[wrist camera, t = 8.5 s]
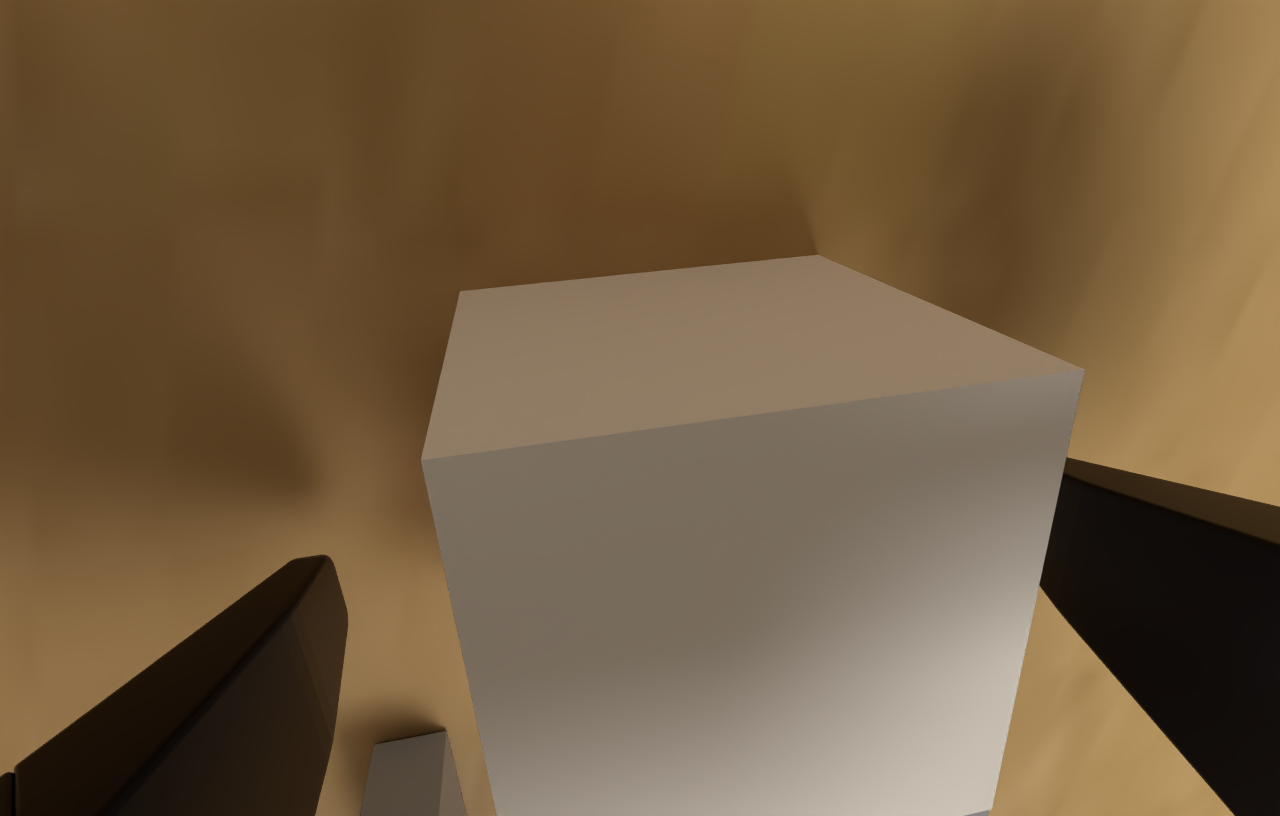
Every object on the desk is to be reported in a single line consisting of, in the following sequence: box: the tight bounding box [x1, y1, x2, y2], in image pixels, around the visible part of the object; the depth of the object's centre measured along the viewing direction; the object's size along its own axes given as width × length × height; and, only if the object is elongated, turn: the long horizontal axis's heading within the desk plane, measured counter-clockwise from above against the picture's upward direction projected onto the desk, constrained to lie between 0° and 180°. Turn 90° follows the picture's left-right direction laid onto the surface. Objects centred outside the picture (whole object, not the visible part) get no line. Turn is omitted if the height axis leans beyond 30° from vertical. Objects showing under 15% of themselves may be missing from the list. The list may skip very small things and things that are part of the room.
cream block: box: [421, 255, 1085, 816], centre depth 8 cm, size 5×5×5 cm
